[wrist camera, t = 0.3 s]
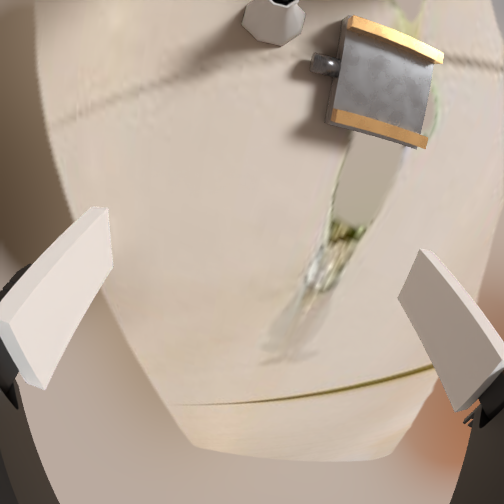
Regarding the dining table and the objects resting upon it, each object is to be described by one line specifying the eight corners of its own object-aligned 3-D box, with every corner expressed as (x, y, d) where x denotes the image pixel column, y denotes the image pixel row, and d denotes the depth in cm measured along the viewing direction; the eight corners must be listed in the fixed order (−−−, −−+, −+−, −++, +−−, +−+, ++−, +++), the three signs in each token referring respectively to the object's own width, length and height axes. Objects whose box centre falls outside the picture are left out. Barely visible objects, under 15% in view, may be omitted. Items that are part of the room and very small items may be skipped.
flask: (315, 13, 26) (338, -12, 17) (284, 56, 29) (297, 42, 20) (262, -16, 24) (267, -49, 15) (230, 27, 27) (223, 4, 18)
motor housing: (318, 13, 26) (327, 3, 22) (425, 51, 27) (444, 49, 23) (300, 117, 33) (307, 120, 29) (407, 145, 34) (424, 153, 30)
